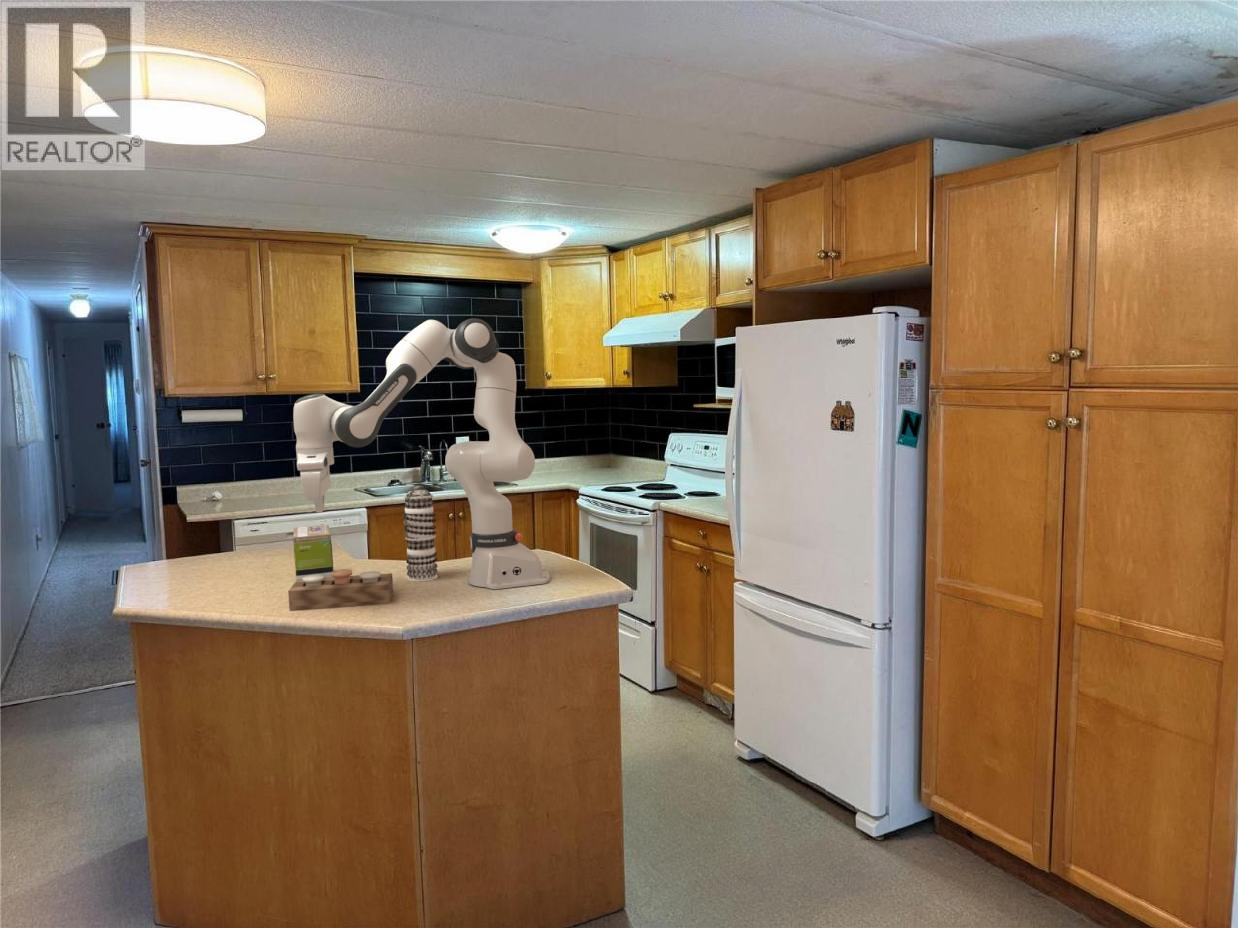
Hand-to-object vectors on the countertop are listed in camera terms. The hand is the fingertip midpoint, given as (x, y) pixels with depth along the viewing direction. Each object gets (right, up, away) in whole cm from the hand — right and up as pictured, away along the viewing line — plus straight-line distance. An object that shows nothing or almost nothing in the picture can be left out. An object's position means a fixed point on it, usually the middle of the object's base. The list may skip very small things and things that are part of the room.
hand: (320, 511), depth 215 cm
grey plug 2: (+13, -22, +2) cm, 25 cm away
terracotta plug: (+6, -21, 0) cm, 22 cm away
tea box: (-9, -21, +22) cm, 32 cm away
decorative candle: (+21, -20, +22) cm, 37 cm away
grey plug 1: (-1, -22, -1) cm, 22 cm away
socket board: (+6, -23, 0) cm, 24 cm away
